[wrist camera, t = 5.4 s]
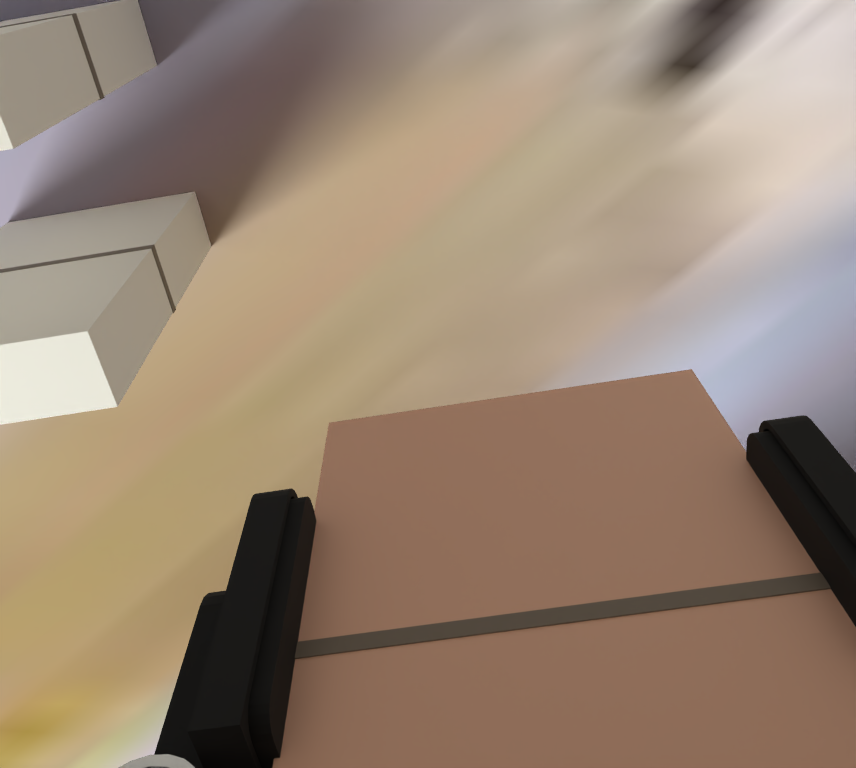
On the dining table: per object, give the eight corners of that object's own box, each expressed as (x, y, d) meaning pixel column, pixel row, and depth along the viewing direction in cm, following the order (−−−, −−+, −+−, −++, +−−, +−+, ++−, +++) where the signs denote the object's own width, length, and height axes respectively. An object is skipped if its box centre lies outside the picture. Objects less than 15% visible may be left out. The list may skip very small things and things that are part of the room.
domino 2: (212, 247, 26) (118, 407, 18) (29, 276, 27) (-152, 448, 18) (195, 191, 25) (87, 330, 17) (6, 222, 26) (-197, 374, 17)
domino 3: (693, 461, 14) (1157, 1311, 5) (349, 509, 15) (260, 1382, 6) (693, 368, 13) (1246, 1200, 5) (327, 421, 14) (181, 1292, 5)
